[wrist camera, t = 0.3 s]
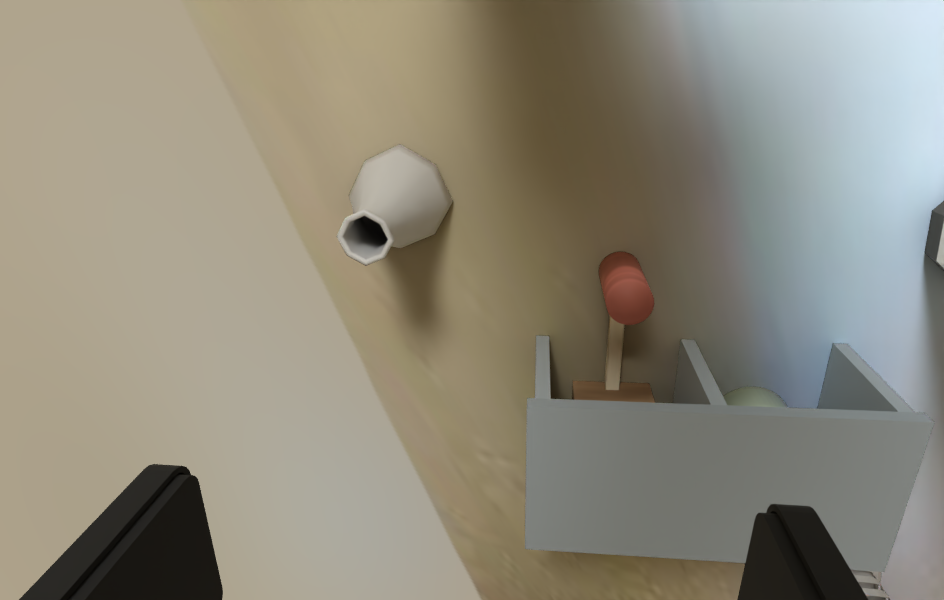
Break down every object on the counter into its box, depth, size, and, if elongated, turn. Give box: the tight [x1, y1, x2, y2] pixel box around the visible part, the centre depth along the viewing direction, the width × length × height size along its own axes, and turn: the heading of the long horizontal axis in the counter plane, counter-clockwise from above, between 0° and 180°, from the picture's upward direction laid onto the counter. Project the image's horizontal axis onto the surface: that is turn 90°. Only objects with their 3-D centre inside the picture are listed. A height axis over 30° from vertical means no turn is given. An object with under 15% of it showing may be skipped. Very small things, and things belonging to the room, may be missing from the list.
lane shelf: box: [525, 336, 934, 572], centre depth 44 cm, size 12×24×10 cm, turn 91°
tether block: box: [572, 252, 655, 403], centre depth 44 cm, size 17×6×6 cm, turn 1°
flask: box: [337, 144, 453, 266], centre depth 39 cm, size 7×7×10 cm
